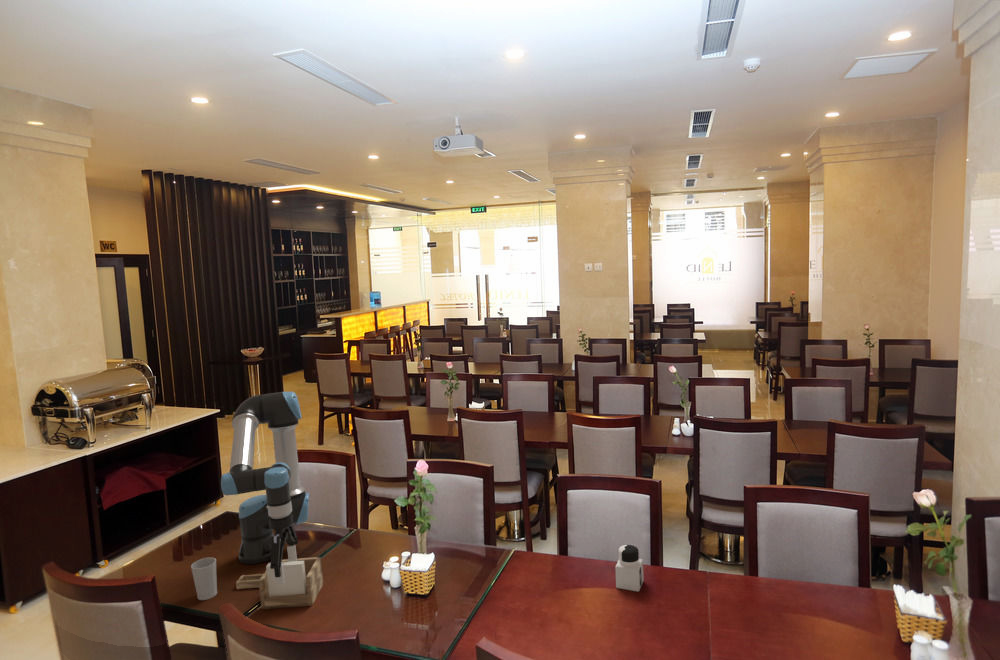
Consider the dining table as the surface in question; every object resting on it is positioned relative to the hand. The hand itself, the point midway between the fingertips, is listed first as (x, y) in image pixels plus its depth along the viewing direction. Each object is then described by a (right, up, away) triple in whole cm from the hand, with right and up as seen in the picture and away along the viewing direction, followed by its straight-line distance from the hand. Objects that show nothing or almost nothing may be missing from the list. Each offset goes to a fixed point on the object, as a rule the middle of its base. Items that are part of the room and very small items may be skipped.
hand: (286, 573), depth 200 cm
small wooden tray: (-15, -10, +14) cm, 23 cm away
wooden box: (+1, -10, +5) cm, 11 cm away
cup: (-31, -12, +9) cm, 35 cm away
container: (+117, -3, -1) cm, 117 cm away
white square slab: (+1, -9, +1) cm, 9 cm away
